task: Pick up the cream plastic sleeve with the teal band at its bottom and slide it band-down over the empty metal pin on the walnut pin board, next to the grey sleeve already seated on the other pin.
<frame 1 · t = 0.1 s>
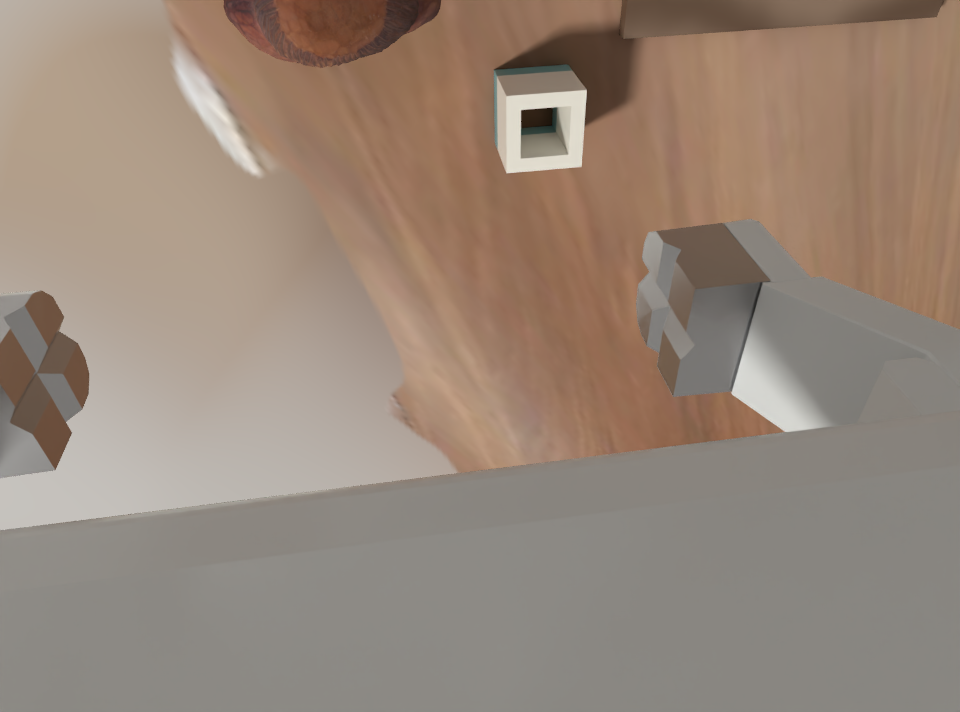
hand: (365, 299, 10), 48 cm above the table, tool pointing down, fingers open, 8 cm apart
cream sleeve: (530, 104, 57), on the table
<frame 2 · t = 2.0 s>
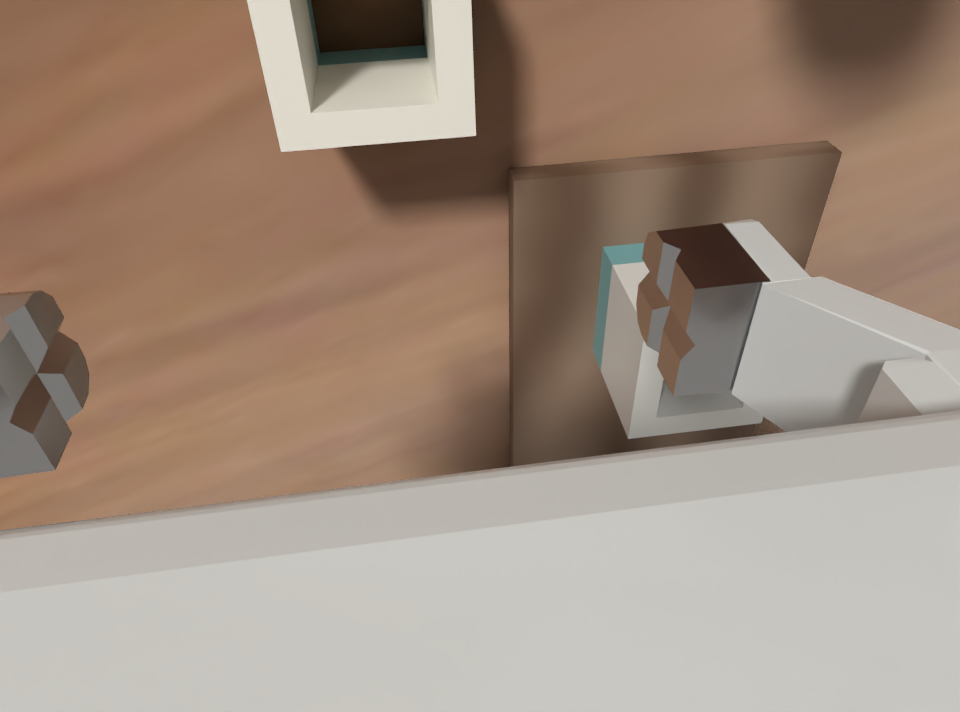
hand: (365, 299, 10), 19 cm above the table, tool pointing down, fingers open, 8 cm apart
pin board: (636, 380, 38), on the table
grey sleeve: (659, 295, 33), point 1 cm above the table, touching pin board
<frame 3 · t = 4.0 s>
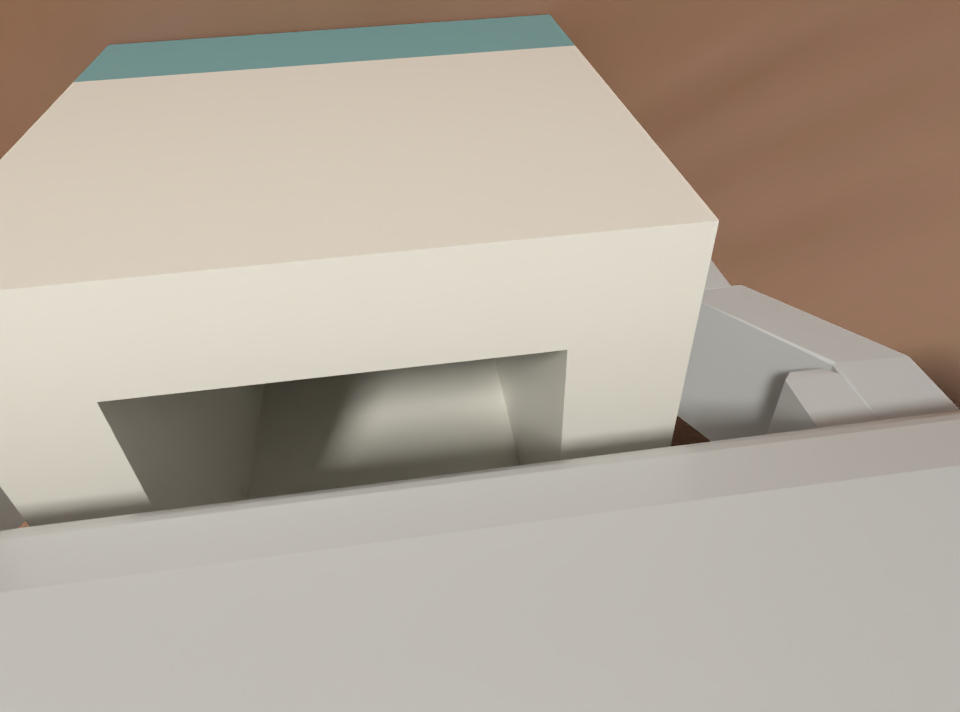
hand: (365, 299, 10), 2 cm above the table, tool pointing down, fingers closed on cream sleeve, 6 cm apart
cream sleeve: (364, 223, 11), on the table, touching gripper
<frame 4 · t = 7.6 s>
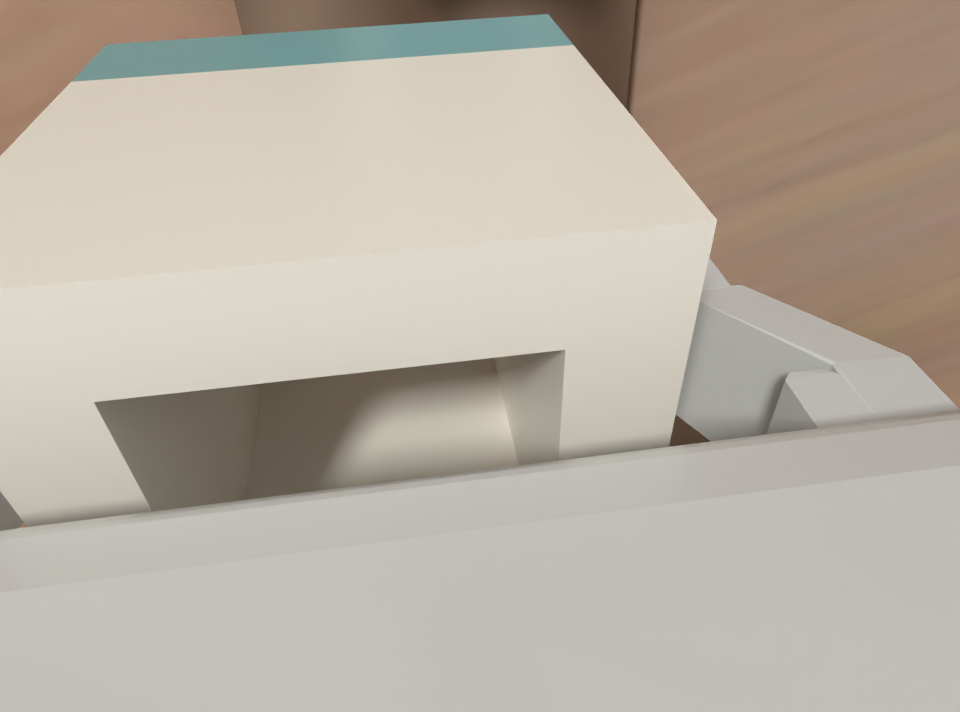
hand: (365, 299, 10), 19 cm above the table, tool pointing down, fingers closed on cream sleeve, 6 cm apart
cream sleeve: (363, 223, 11), point 17 cm above the table, touching gripper
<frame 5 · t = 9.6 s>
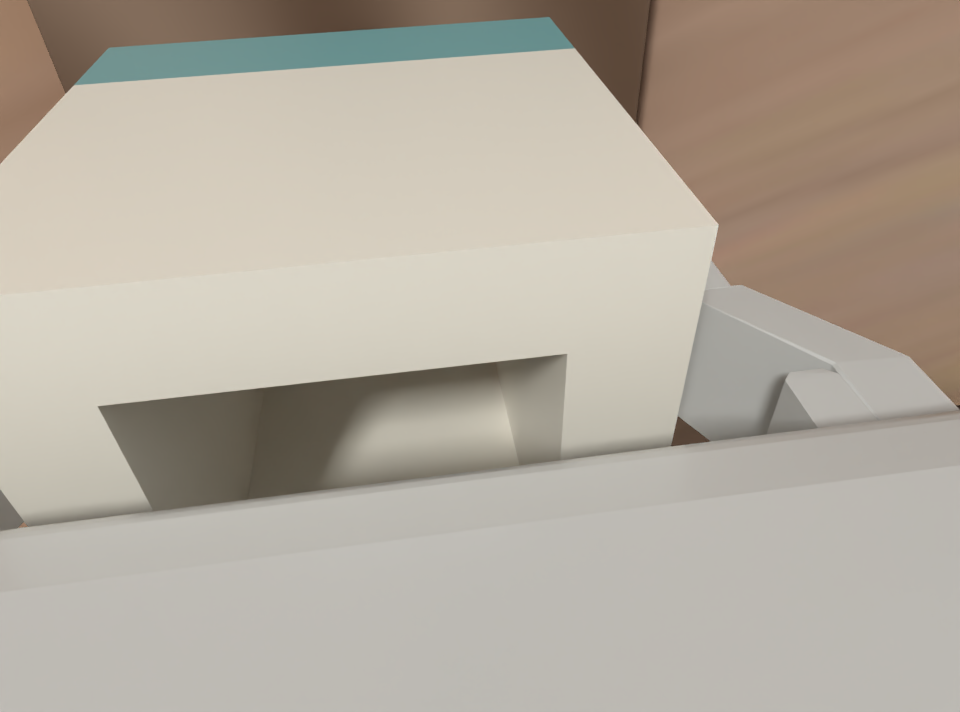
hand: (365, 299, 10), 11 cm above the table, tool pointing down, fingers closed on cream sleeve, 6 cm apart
cream sleeve: (364, 225, 11), point 8 cm above the table, touching gripper
when the fingers open (5 cm above the table, at t = 11.3 s): cream sleeve drops 1 cm, resting on pin board.
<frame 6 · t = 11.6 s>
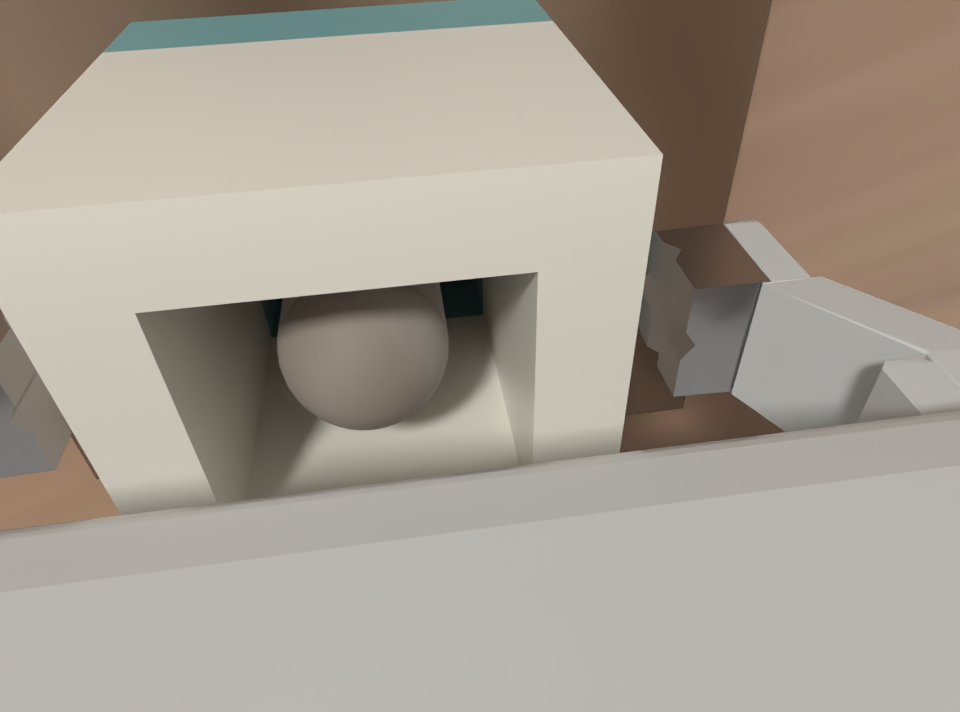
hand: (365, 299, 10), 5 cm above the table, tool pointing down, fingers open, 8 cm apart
cream sleeve: (363, 191, 12), point 1 cm above the table, touching pin board
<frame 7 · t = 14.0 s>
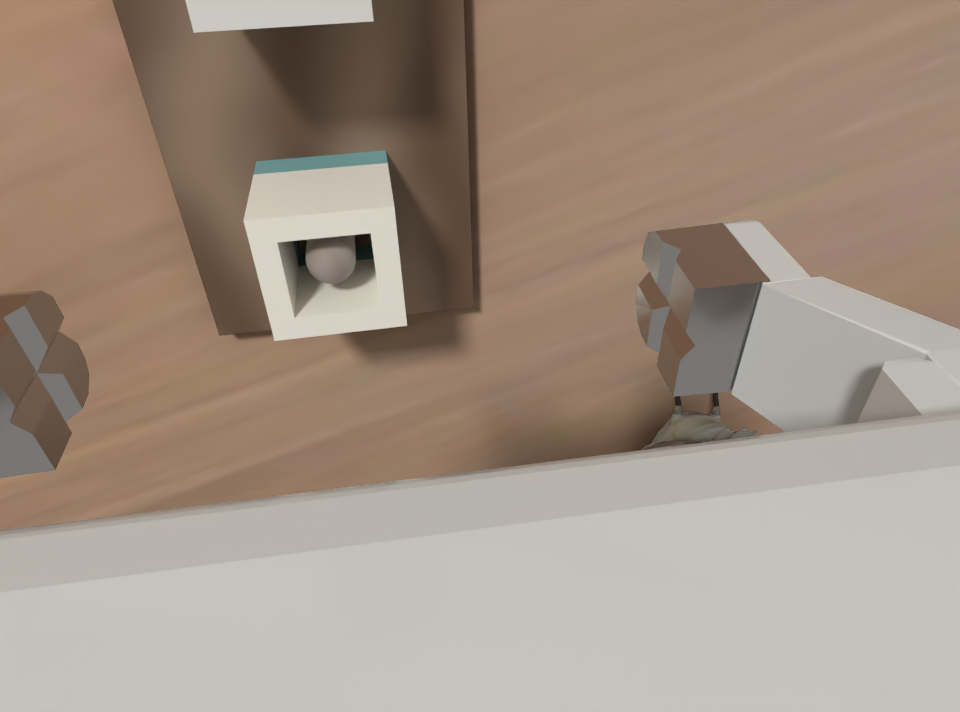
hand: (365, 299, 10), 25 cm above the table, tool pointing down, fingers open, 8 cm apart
pin board: (308, 71, 31), on the table
cream sleeve: (331, 214, 34), point 1 cm above the table, touching pin board
decorative bird: (655, 439, 51), on the table
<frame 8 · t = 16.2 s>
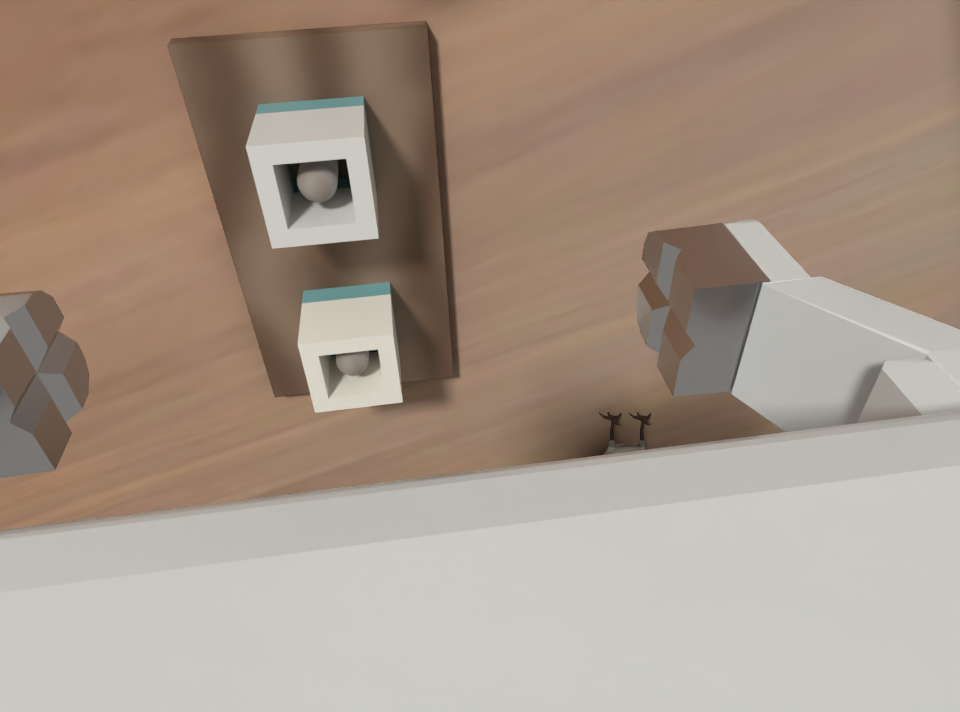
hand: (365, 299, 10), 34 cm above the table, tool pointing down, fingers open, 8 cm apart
pin board: (338, 234, 47), on the table
cream sleeve: (353, 320, 50), point 1 cm above the table, touching pin board
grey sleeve: (320, 149, 42), point 1 cm above the table, touching pin board
decorative bird: (602, 460, 67), on the table
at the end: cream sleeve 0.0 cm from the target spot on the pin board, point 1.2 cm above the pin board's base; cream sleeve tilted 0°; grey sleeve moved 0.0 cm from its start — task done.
